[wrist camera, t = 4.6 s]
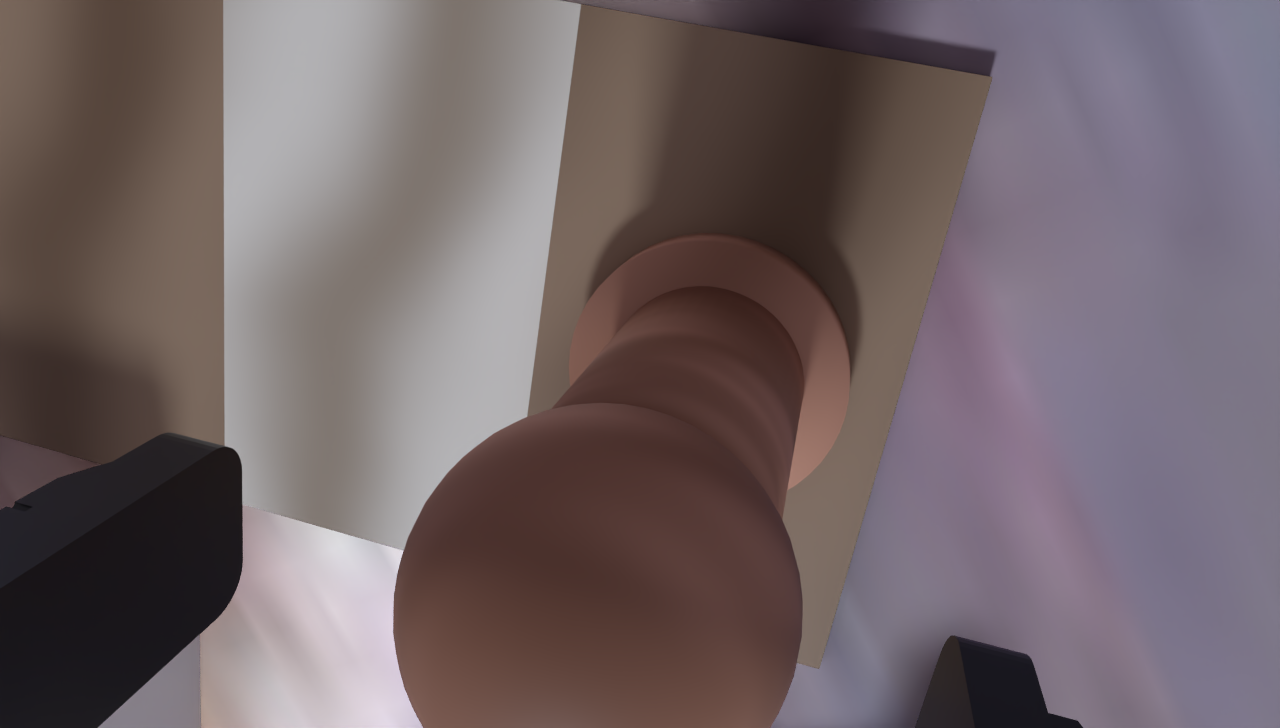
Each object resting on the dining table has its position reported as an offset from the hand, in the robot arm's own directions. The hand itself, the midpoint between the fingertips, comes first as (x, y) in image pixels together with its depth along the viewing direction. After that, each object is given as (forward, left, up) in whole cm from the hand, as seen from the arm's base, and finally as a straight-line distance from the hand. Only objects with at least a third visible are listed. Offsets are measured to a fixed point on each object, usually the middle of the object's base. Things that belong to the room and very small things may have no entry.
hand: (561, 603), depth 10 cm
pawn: (0, 0, -8) cm, 8 cm away
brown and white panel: (+7, 0, -8) cm, 11 cm away
